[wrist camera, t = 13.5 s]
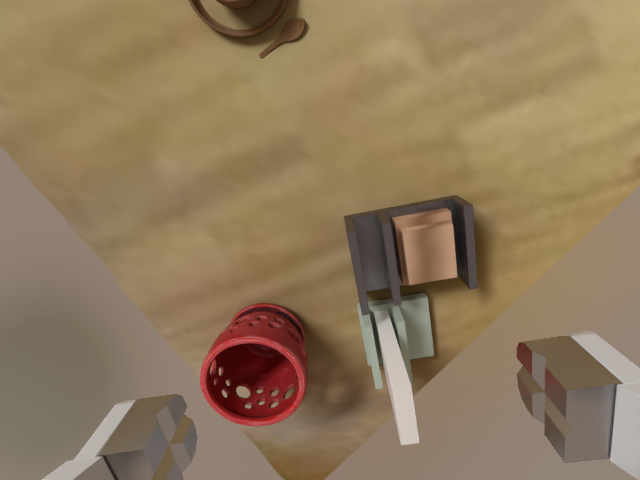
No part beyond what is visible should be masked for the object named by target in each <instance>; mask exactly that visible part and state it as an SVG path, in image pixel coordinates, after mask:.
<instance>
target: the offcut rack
mask: <svg viewBox="0 0 640 480" xmlns="http://www.w3.org/2000/svg"><path fill="white" fill-rule="evenodd" d="M442 208H447V209H448V210H450V211H451V217H452V224H453V230H454V242H455V254H456V266H457V276H459V277H460V278H461V279H462V281H463V282H464V283H465V284H466V285H467V287H468V288H469V289H475V288H478V284H477V268H476V252H475V236H474V220H473V205H472V204H470V203H469V202H467V201H465V200H464V199H462V198H460V197H459V196H457V195H454V196H449V197H443V198H438V199H433V200H427V201H422V202H417V203H412V204H406V205H401V206H396V207H390V208H385V209H380V210H374V211H369V212H364V213H358V214H353V215H348V216H344V220H345V225H346V231H347V237H348V242H349V248H350V253H351V259H352V264H353V269H354V275H355V280H356V286H357V291H358V296H359V302H360V307H361V312H362V315H368V314H370V311H369V306H368V300H367V294H366V292H367V291H373V290H379V289H385V288H388V290H389V293H390V296H391V298H392V301H393V304H394V306H397V305H402V301H401V294H400V287H399V286H403V284H402V282H401V279H400V273H399V266H398V258H397V251H396V244H395V237H394V230H393V223H392V218H394V217H399V216H404V215H410V214H415V213H421V212H426V211H431V210H437V209H442Z"/></svg>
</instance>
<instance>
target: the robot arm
mask: <svg viewBox="0 0 640 480" xmlns="http://www.w3.org/2000/svg"><path fill="white" fill-rule="evenodd" d="M517 358H518V360H519V361H520V362H521V364H523V366H522V368H521V369H520V371H519V372H518V373H517V377H518V387H519V391H520V394H521V398H522V400H523V402H524V404H525V406H526V408H527V409H528V411H529V412H530V414H531V415H532V417H534V418H535V419H537V420H539V421H541V422H542V423H544V424H545V436H546V437H547V438H548V440H549V441H550V443H551V444H552V446H553V447H554V448H555V450H556V451H557V453H558V454H559V455H560V457H561V458H562V460H563V461H564V462H565V463H568V462H578V461H589V460H600V459H610V461H611V462H613V463H614V464H616V465H617V466H619V467H620V468H622V469H623V470H625V471H626V472H628V473H629V474H631V475H632V476H634V477H635V478H637V479H638V480H640V368H638V367H637V366H636V365H635V364H633V363H632V362H631V361H630V360H628V359H627V358H626V357H624V356H623V355H622V354H621V353H619V352H618V351H617V350H615V349H614V348H613V347H612V346H611V345H609V344H608V343H607V342H605V341H604V340H603V339H602V338H600V337H599V336H598V335H597V334H595V333H593V332H590V331H584V332H578V333H572V334H566V335H564V336H558V337H552V338H545V339H539V340H532V341H526V342H520V343H519V344H518V347H517ZM186 407H187V405H186V403H185V401H184V399H183V397H182V396H181V395H178V394H174V395H167V396H159V397H151V398H143V399H138V400H137V399H136V400H129V401H122V402H120V403H118V404H116V405H115V406H114V407H113V409H112V410H111V411H110V412H109V414H108V415H107V416H106V418H105V419H104V420H103V422H102V423H101V424H100V426H99V427H98V429H97V430H96V431H95V432H94V434H93V435H92V437H91V438H90V439H89V441H88V442H87V443H86V444H85V446H84V447H83V448H82V450H81V451H80V452H79V454H78V455H77V456H76V458H75V459H74V460H71V461H67V462H65V463H64V464H63V465H61V466H60V467H59V468H57V469H56V470H55V471H53V472H52V473H50V474H49V475H48V476H46V477H45V478H44V479H42V480H183V476H182V472H183V470H185V469H186V468H187V466H188V465H189V464H190V463H191V462H192V459H193V457H194V454H195V451H196V443H197V434H196V428H195V425H194V422H193V420H191V419H190V418H189V417H187V416H186V415H184V413H185V410H186Z"/></svg>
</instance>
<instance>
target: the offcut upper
mask: <svg viewBox="0 0 640 480" xmlns="http://www.w3.org/2000/svg"><path fill="white" fill-rule="evenodd" d="M400 236H401V243H402V251H403V258H404V266H405V273H406V279H407V281H408V283H409V285H414V284H420V283H426V282H432V281H438V280H443V279H449V278H455V277H457V266H456V254H455V242H454V230H453V224H452V223H451V222H449V221H448V220H445V221H440V222H434V223H429V224H423V225H418V226H412V227H407V228H401V229H400Z"/></svg>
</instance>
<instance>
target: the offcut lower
mask: <svg viewBox="0 0 640 480" xmlns="http://www.w3.org/2000/svg"><path fill="white" fill-rule="evenodd" d="M445 220H448V221H449V222H451V223H452V217H451V211H450V210H448V209H447V208H442V209H437V210H431V211H426V212H421V213H415V214H410V215H404V216H399V217H394V218H392V223H393V230H394V237H395V244H396V251H397V258H398V266H399V273H400V279H401V282H402V284H403V286H405V285H409V283H408V281H407V279H406V273H405V266H404V258H403V251H402V243H401V236H400V229H401V228H407V227H412V226H418V225H423V224H429V223H434V222H440V221H445Z"/></svg>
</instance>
